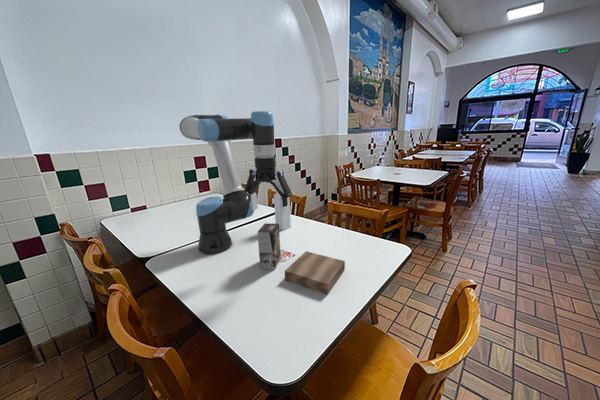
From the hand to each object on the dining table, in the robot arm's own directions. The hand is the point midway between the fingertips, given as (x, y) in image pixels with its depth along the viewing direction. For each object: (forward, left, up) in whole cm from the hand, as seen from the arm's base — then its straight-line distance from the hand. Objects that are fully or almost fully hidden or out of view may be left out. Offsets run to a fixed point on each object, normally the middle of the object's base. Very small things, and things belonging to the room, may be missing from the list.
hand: (268, 211), depth 94 cm
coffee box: (0, -1, -23) cm, 23 cm away
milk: (-16, +32, -23) cm, 43 cm away
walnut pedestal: (+20, 0, -22) cm, 30 cm away
